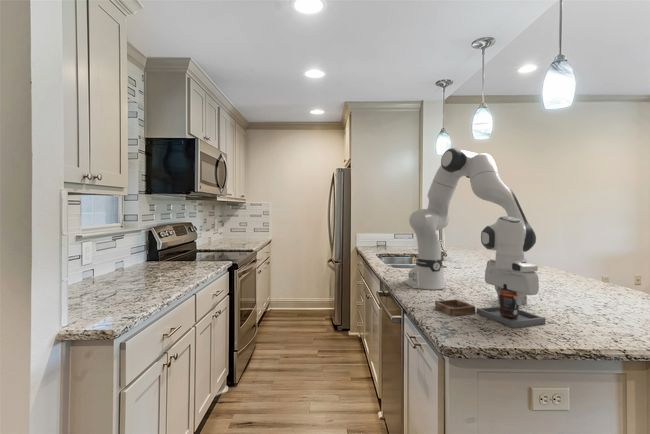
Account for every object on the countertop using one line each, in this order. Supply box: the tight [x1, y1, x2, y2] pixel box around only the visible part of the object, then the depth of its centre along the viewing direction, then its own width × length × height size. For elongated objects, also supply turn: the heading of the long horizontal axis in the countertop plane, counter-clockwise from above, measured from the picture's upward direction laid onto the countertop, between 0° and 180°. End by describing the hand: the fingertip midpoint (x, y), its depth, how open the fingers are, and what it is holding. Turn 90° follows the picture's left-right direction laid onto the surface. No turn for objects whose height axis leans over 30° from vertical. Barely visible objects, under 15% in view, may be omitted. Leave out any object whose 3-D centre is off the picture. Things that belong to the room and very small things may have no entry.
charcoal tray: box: [476, 305, 546, 329], centre depth 118 cm, size 16×14×2 cm
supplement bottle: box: [499, 284, 520, 317], centre depth 118 cm, size 6×6×11 cm
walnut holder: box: [434, 299, 476, 317], centre depth 128 cm, size 11×11×2 cm
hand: (509, 301), depth 118 cm, fingers closed on supplement bottle, 6 cm apart
